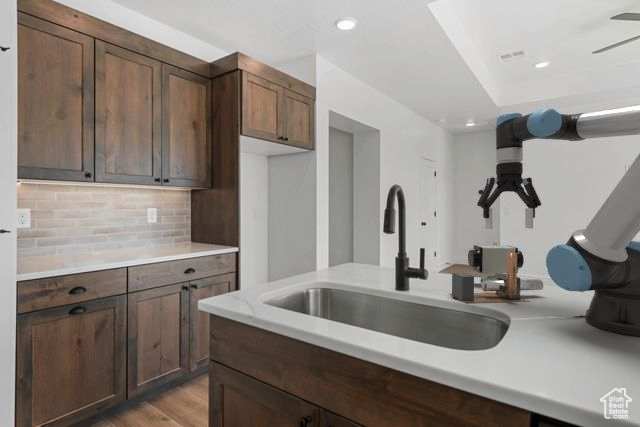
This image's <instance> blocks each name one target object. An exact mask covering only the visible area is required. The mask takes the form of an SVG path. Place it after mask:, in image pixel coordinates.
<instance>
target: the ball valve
mask: <svg viewBox="0 0 640 427" xmlns="http://www.w3.org/2000/svg"><path fill="white" fill-rule="evenodd" d="M507 253H517V274H518V273H519V272H518V270H520V269H521V268H523V266H524V262H525V261H524V254H523V252H522V251H521V250H519V248H518V247H515V246H512V245H498V242H497V241H493V242H492V245H486V244H485V245H484V244H483V245H482V244H479V245H476V244H475V245H473V248H472V249H469V251H468V253H467V262H468V265H469V267H470V268H473V270H474V271H476V272H478V273H479V274H482V273H483V274H486V273H487V274H488V275H484V276H481V277H480V280H479V281H480V283H481V282H482V281H484V280H496V274H507Z"/></svg>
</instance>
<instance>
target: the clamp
mask: <svg viewBox="0 0 640 427" xmlns="http://www.w3.org/2000/svg"><path fill="white" fill-rule="evenodd" d="M496 280H506V281H507V273H503V274H496ZM520 280H521V277H518V276H517V285H516V295H508V294H506V292H505V291H495V293H496V295H498V296H500V297H503V298H505V299H507V300H520V298H521V291H520Z"/></svg>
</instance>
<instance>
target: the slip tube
mask: <svg viewBox="0 0 640 427" xmlns="http://www.w3.org/2000/svg"><path fill="white" fill-rule="evenodd" d="M506 274H507V281H506V280H484V281H482V282H480V287H481V290H482V291H483V292H496V291H505V292H506V294H508V295H516V285H517V277H518V275H517V274H518V273H517V253H507V273H506ZM543 289H544V283H543V281H542V279H539V278H537V279H520V292H521V291H542V290H543Z"/></svg>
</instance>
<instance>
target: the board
mask: <svg viewBox="0 0 640 427" xmlns="http://www.w3.org/2000/svg"><path fill="white" fill-rule="evenodd" d="M449 295H450V296H451V297H453V298H455V297H454V296H452V293H449ZM459 301H461V300H459ZM461 302H462V303H464V304H465V305H467V304H470V305H471V304H500V303H501V304H505V303H531V301H530V300H528V299H525V298H523V297H520V300H507V299H505V298H503V297H500V296H498V295H496V292H474V301H461Z"/></svg>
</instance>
